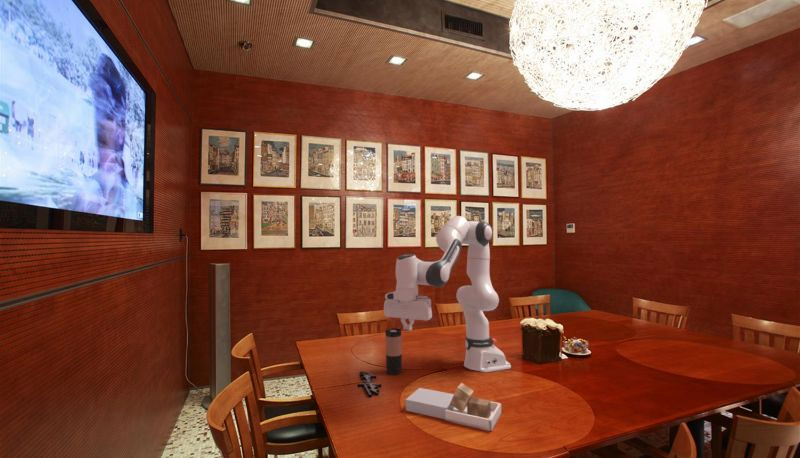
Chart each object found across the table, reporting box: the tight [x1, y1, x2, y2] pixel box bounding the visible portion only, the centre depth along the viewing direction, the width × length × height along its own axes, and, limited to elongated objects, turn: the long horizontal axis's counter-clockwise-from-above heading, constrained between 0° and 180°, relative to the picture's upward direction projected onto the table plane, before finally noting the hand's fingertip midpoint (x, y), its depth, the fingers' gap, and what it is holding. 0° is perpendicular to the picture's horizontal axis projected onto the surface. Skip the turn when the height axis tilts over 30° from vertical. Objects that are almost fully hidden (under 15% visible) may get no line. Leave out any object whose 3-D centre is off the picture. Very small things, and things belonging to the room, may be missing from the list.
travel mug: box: [385, 327, 403, 376], centre depth 177 cm, size 8×8×20 cm
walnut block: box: [467, 396, 491, 419], centre depth 130 cm, size 5×4×7 cm
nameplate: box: [357, 371, 382, 399], centre depth 162 cm, size 27×2×10 cm
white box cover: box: [405, 387, 455, 420], centre depth 138 cm, size 16×12×4 cm
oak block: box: [450, 382, 474, 412], centre depth 133 cm, size 5×4×7 cm
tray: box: [444, 400, 503, 432], centre depth 131 cm, size 16×14×4 cm
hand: (407, 329), depth 148 cm, fingers closed
